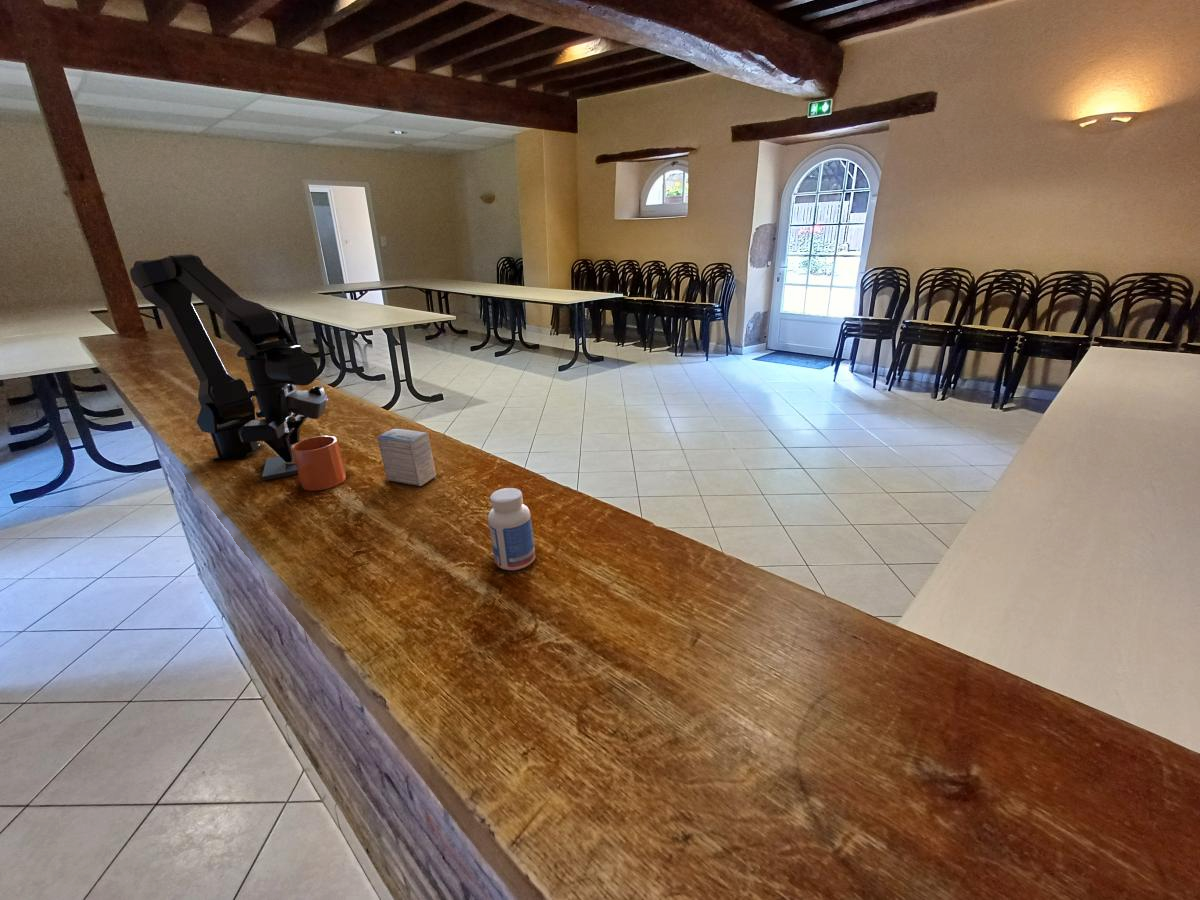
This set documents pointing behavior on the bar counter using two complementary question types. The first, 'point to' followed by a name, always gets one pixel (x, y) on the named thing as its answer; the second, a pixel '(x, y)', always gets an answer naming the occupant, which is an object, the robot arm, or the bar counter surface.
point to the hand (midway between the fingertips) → (292, 458)
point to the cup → (318, 462)
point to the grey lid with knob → (278, 468)
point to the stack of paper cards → (407, 456)
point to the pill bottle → (511, 530)
